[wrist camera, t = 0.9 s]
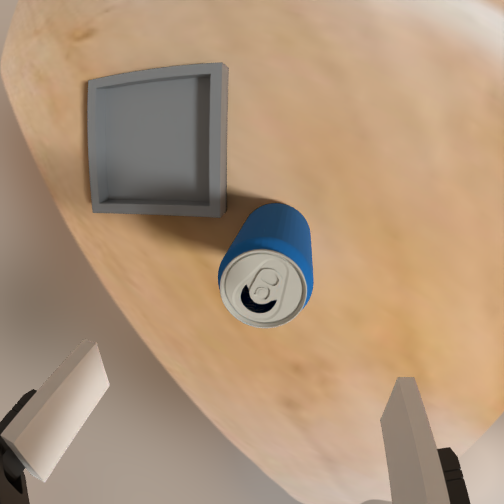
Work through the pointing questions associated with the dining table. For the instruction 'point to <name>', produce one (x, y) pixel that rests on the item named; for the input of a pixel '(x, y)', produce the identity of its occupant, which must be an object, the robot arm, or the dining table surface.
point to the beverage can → (268, 268)
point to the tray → (159, 141)
